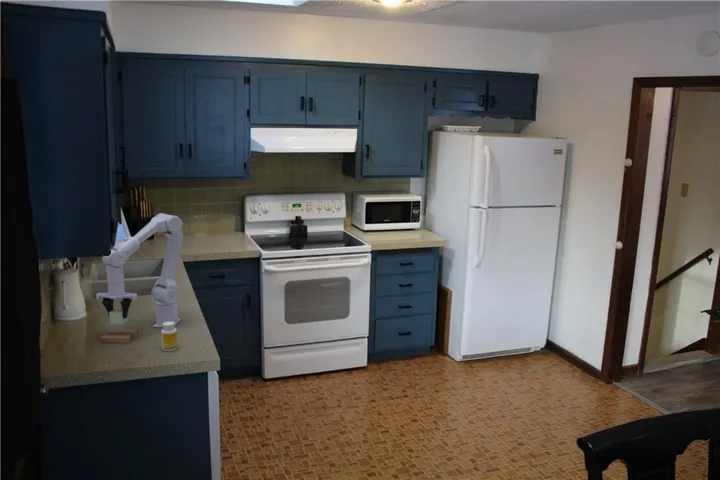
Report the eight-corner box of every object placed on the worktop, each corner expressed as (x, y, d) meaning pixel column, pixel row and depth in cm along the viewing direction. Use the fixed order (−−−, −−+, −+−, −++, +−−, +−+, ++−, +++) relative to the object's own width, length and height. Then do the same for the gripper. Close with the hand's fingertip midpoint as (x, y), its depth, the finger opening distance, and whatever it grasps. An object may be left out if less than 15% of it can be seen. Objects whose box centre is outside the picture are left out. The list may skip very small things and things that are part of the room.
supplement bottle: (159, 348, 223) (157, 323, 221) (172, 344, 227) (171, 319, 225) (167, 352, 219) (165, 326, 218) (180, 348, 223) (179, 323, 221)
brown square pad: (112, 334, 238) (112, 328, 237) (138, 335, 238) (138, 328, 237) (101, 344, 228) (100, 337, 228) (128, 344, 228) (127, 338, 227)
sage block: (115, 319, 234) (114, 308, 233) (127, 320, 234) (126, 308, 233) (110, 323, 229) (109, 312, 228) (122, 324, 229) (121, 312, 228)
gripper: (91, 284, 225) (94, 320, 228) (130, 285, 224) (133, 321, 227) (100, 279, 232) (102, 314, 234) (138, 280, 231) (140, 315, 234)
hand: (118, 317), depth 231 cm, fingers closed on sage block, 4 cm apart
